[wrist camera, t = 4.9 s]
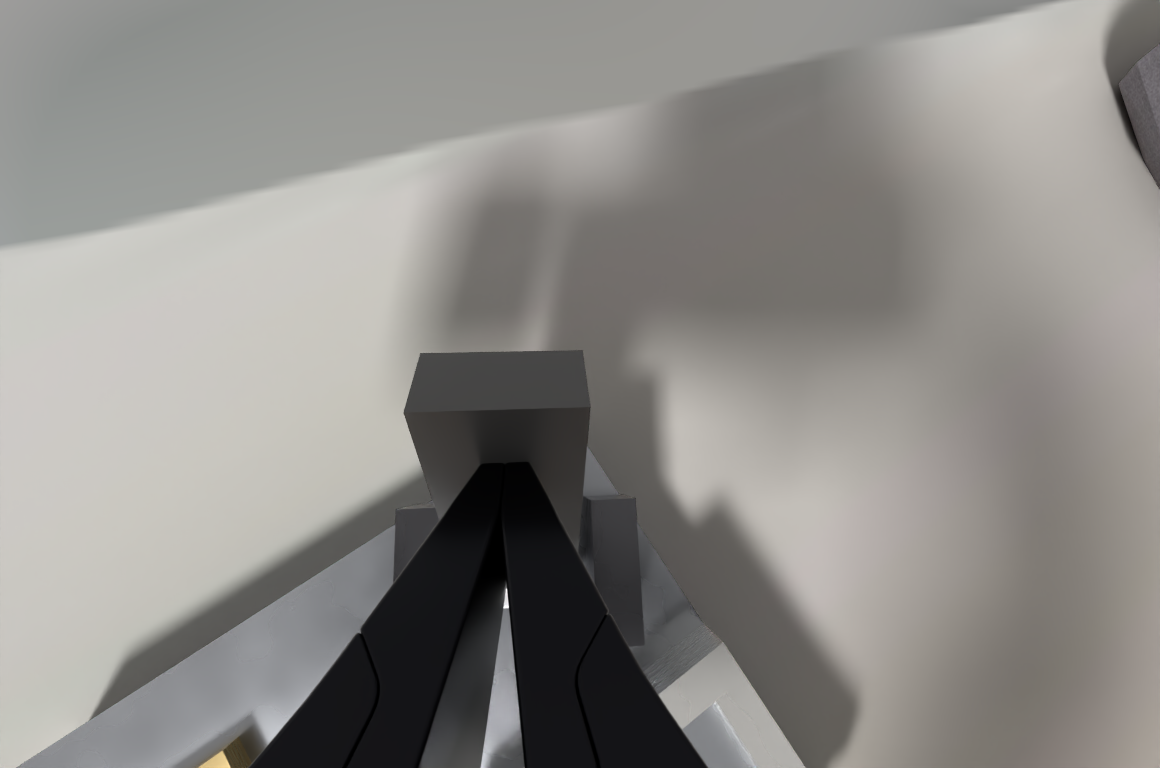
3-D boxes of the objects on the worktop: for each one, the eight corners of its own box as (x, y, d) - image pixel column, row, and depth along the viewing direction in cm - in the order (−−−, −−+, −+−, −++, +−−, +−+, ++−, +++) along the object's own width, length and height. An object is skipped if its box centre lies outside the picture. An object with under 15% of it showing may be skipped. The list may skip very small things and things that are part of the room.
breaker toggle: (577, 613, 12) (598, 416, 7) (465, 622, 12) (393, 422, 6) (573, 551, 13) (586, 343, 8) (471, 556, 13) (416, 346, 8)
